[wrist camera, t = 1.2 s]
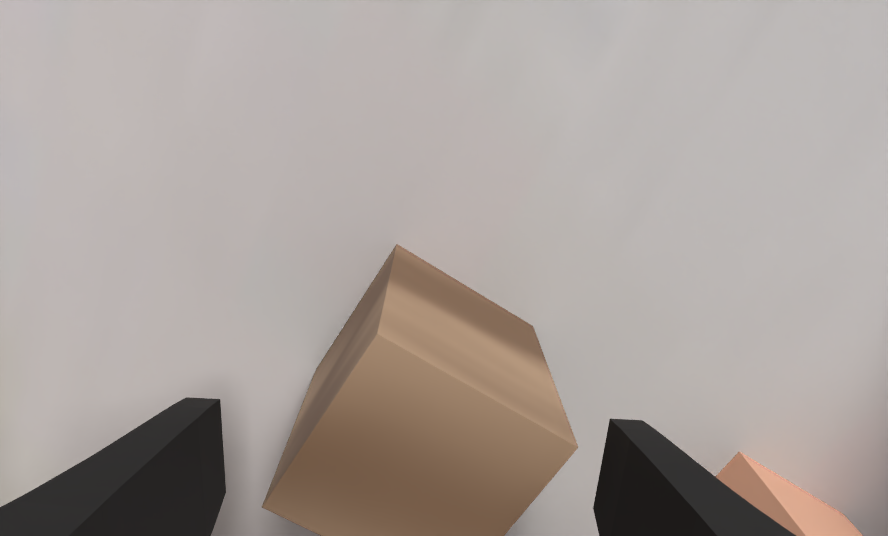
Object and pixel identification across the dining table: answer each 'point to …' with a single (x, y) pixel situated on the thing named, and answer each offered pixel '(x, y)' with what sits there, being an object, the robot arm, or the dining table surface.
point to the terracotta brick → (784, 500)
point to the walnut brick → (423, 416)
